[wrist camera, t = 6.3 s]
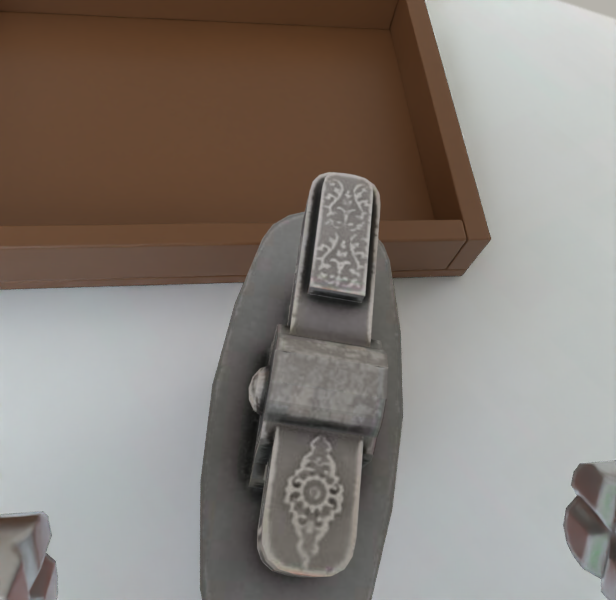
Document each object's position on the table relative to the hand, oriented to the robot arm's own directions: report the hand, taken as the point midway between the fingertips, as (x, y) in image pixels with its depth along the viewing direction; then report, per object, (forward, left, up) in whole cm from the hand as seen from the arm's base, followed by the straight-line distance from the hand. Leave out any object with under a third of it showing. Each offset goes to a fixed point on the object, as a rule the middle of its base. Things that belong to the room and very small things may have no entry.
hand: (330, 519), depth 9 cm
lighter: (0, +2, -8) cm, 8 cm away
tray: (-2, +14, -8) cm, 17 cm away
